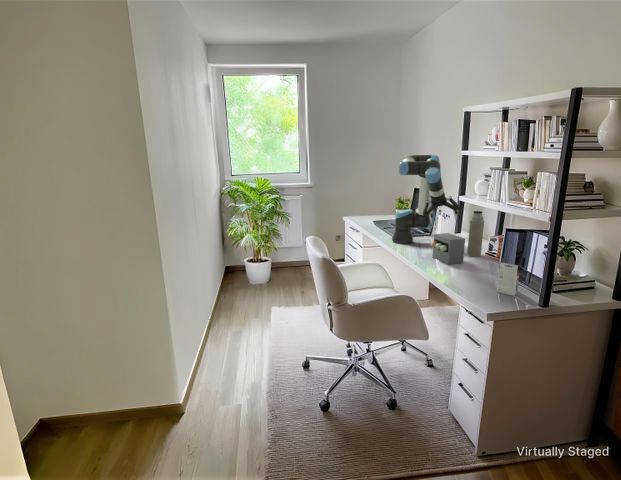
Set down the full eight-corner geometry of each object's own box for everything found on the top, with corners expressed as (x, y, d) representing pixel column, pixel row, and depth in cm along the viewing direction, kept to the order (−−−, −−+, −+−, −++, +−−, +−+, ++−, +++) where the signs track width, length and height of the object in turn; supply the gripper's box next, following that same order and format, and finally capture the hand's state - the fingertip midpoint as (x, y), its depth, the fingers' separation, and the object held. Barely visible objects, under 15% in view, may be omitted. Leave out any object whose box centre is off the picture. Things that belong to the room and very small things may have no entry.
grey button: (435, 248, 221) (435, 243, 220) (442, 247, 222) (443, 242, 221) (438, 249, 218) (438, 244, 217) (445, 248, 219) (446, 243, 219)
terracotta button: (430, 246, 225) (430, 241, 225) (438, 245, 227) (438, 240, 226) (433, 247, 222) (433, 242, 222) (440, 246, 224) (441, 241, 223)
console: (432, 257, 229) (434, 234, 226) (446, 256, 232) (448, 233, 228) (448, 265, 214) (450, 239, 211) (463, 263, 217) (465, 238, 213)
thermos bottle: (466, 253, 239) (470, 210, 233) (479, 253, 237) (484, 210, 231) (467, 256, 232) (472, 212, 225) (481, 257, 230) (486, 212, 223)
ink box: (498, 290, 175) (501, 260, 172) (517, 294, 170) (520, 263, 166) (496, 292, 172) (499, 262, 169) (514, 296, 167) (518, 265, 164)
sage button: (439, 250, 216) (440, 245, 216) (447, 249, 218) (448, 244, 217) (443, 251, 213) (443, 246, 213) (450, 250, 215) (451, 245, 214)
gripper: (414, 201, 207) (421, 227, 220) (461, 193, 197) (466, 220, 210) (414, 192, 212) (421, 218, 225) (460, 184, 202) (465, 211, 215)
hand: (443, 219), depth 218 cm, fingers open, 13 cm apart
